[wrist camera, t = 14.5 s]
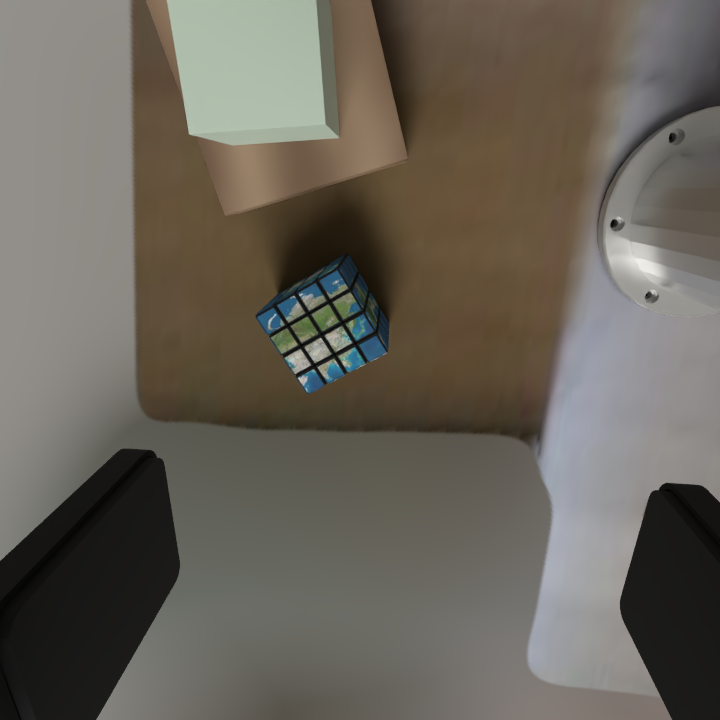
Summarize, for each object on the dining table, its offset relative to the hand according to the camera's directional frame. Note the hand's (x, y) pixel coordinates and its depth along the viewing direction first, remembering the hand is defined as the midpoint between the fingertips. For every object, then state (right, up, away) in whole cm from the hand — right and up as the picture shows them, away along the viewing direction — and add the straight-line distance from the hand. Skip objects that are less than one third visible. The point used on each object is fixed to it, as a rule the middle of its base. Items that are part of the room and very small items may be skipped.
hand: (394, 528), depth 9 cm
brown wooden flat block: (-4, +20, +20) cm, 29 cm away
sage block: (-5, +18, +16) cm, 24 cm away
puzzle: (-3, +7, +25) cm, 26 cm away
